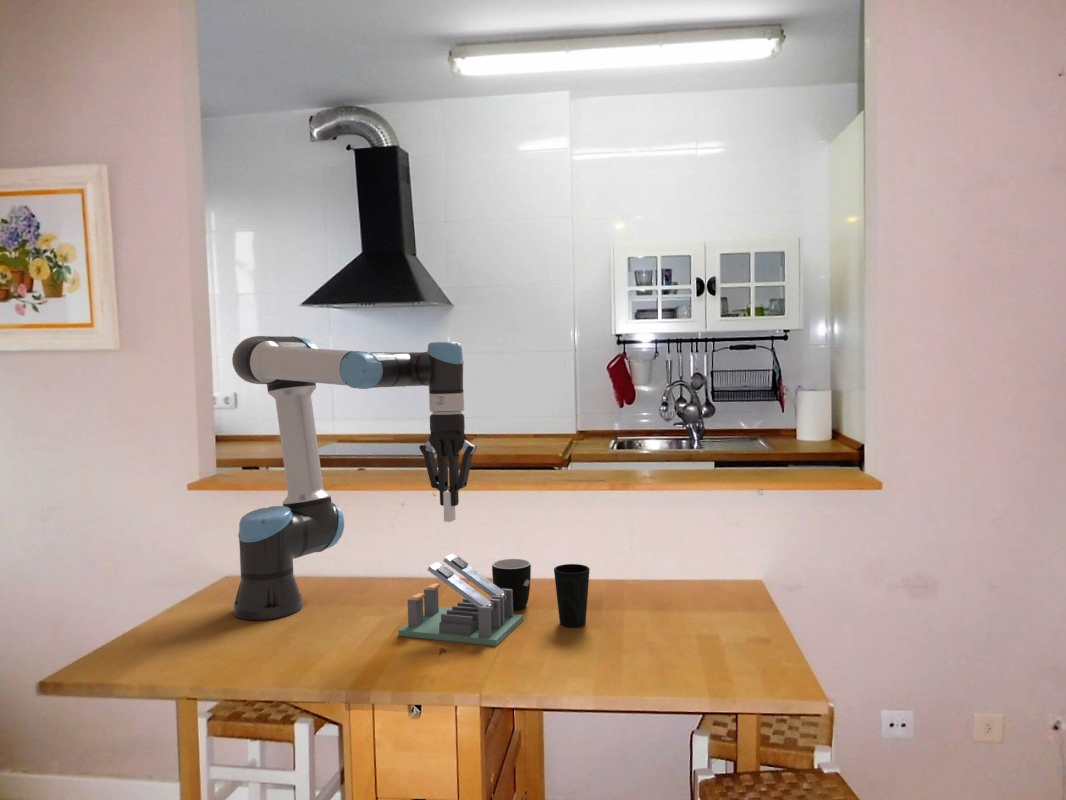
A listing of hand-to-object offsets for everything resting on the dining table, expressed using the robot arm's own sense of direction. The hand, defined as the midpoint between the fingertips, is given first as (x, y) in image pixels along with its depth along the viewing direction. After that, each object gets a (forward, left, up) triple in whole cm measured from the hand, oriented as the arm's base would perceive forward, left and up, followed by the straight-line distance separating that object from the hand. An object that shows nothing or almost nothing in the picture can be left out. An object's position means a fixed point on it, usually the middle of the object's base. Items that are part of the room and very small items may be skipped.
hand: (449, 520), depth 167 cm
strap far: (+6, 0, -13) cm, 14 cm away
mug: (+9, +15, -23) cm, 28 cm away
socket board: (+4, -3, -22) cm, 23 cm away
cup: (+26, +6, -23) cm, 35 cm away
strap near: (+6, -7, -13) cm, 16 cm away
